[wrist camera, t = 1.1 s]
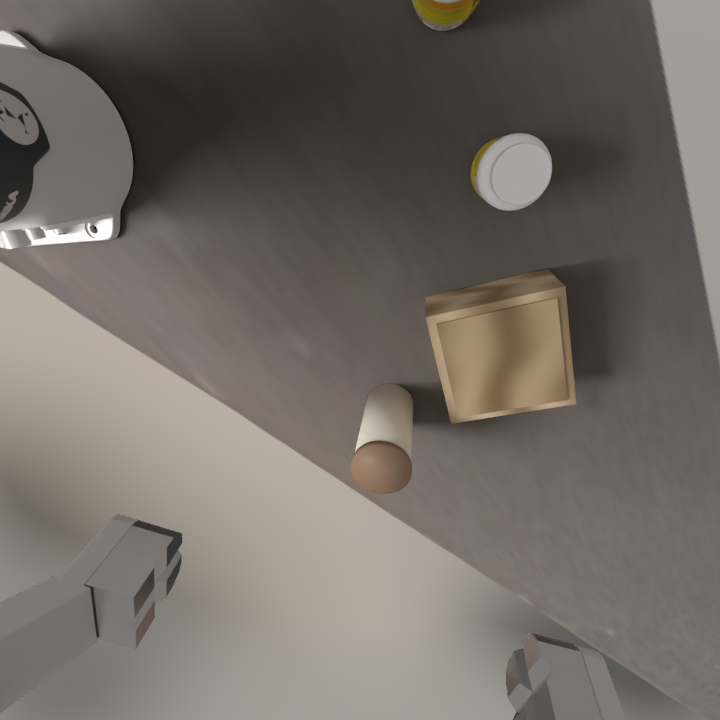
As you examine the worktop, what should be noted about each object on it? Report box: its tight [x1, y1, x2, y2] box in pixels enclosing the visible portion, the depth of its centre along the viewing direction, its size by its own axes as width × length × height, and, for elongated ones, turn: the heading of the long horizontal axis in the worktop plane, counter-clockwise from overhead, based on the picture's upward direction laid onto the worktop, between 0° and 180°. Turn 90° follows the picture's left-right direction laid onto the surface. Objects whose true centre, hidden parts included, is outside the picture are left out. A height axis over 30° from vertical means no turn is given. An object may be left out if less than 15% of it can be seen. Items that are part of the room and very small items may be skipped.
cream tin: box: [351, 384, 413, 494], centre depth 45 cm, size 6×6×12 cm
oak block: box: [425, 269, 576, 424], centre depth 42 cm, size 12×12×6 cm
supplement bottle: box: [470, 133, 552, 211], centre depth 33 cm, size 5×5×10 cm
